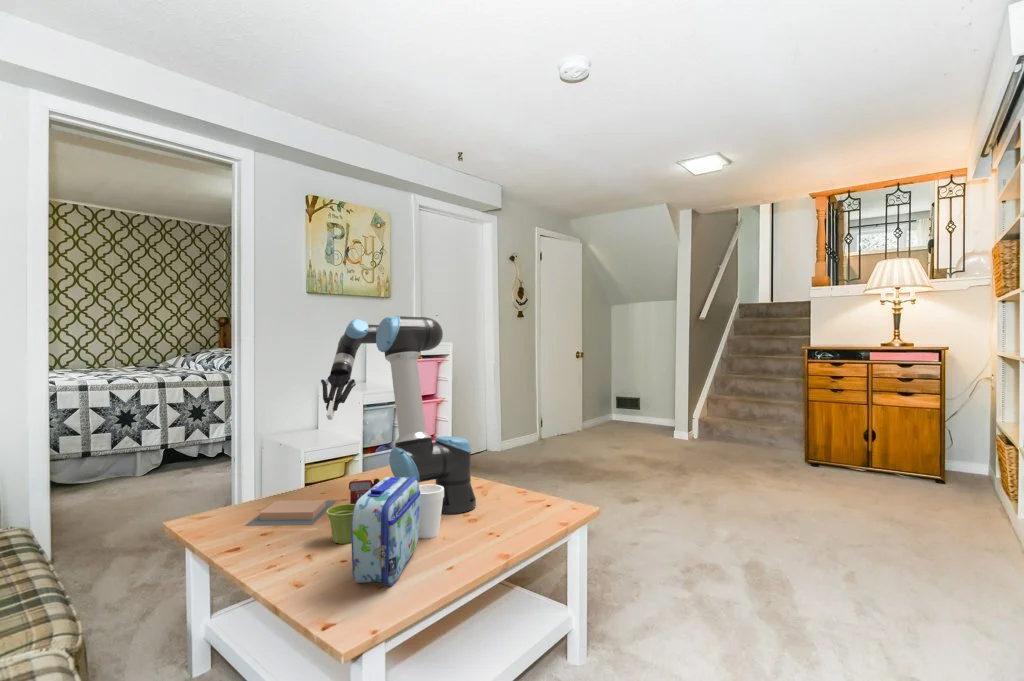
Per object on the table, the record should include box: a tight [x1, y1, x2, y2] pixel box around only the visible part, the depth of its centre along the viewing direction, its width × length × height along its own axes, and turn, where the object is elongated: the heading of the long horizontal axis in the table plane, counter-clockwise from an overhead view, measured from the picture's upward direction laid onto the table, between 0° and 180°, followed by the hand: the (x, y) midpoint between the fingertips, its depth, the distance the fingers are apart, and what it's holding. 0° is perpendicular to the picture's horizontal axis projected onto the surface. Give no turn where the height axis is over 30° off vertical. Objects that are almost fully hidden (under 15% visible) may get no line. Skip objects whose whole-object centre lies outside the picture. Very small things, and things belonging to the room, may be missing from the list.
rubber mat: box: [244, 499, 338, 527], centre depth 168 cm, size 24×20×1 cm
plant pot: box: [325, 503, 355, 545], centre depth 146 cm, size 9×9×9 cm
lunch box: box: [350, 476, 420, 587], centre depth 129 cm, size 26×11×21 cm, turn 174°
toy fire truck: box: [348, 478, 381, 504], centre depth 171 cm, size 7×12×10 cm, turn 109°
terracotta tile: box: [259, 499, 327, 521], centre depth 167 cm, size 2×16×12 cm
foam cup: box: [418, 483, 444, 539], centre depth 150 cm, size 10×9×13 cm
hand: (329, 417), depth 188 cm, fingers closed
